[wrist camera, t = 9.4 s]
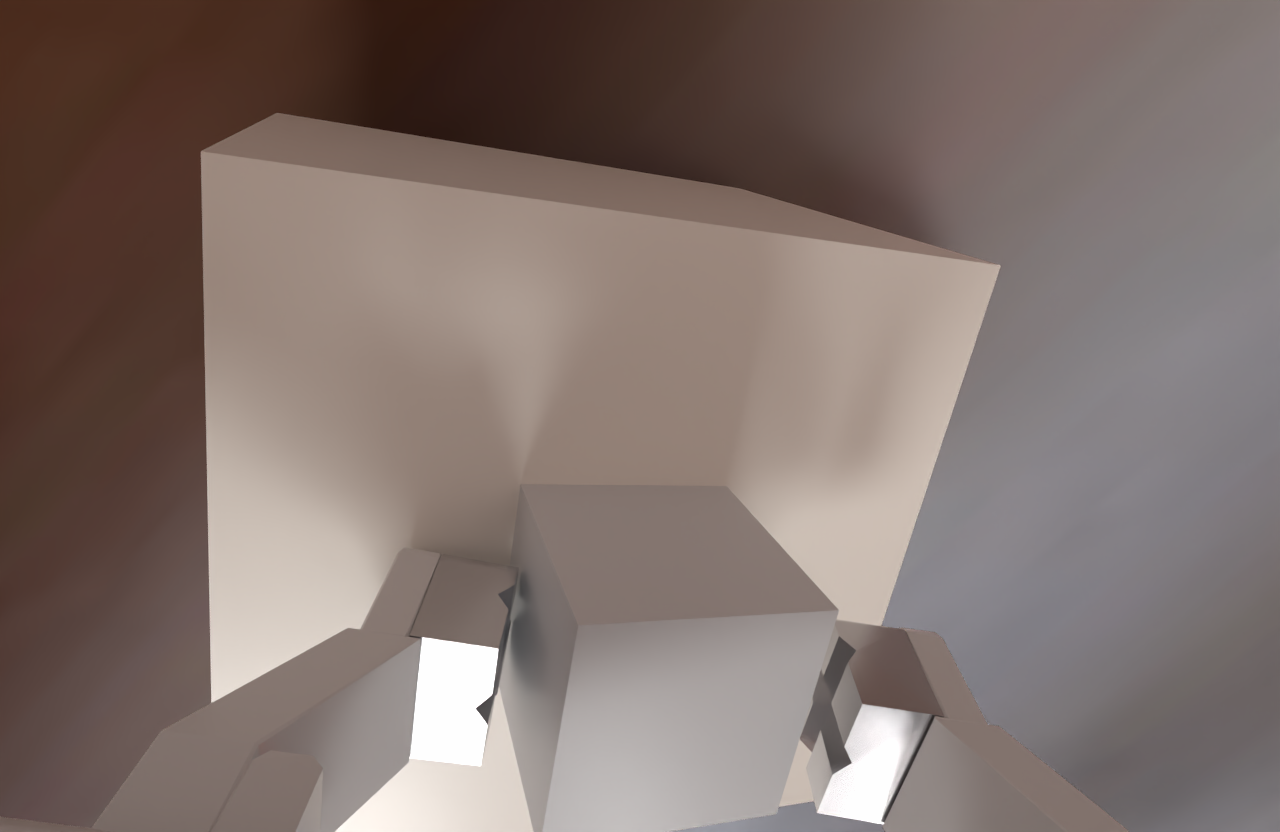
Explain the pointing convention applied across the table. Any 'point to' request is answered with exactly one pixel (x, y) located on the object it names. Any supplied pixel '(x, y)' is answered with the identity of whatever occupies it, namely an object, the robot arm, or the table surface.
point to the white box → (568, 450)
